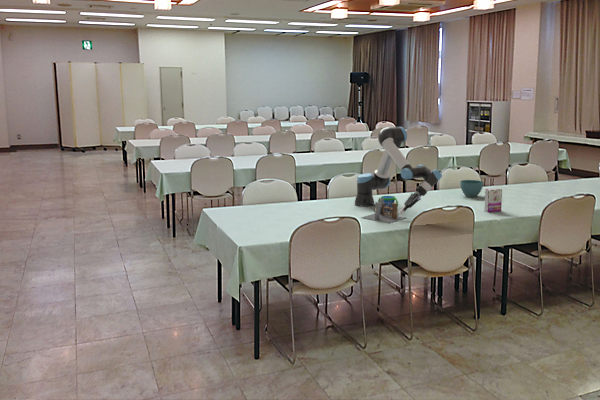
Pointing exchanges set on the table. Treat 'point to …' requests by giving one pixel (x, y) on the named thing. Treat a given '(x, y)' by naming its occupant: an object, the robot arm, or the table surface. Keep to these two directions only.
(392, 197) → the snack cup
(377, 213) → the post
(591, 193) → the table surface
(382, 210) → the hinge post
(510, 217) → the table surface
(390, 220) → the mat
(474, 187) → the teal bowl
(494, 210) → the candy bar box
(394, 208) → the gate
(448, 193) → the table surface
